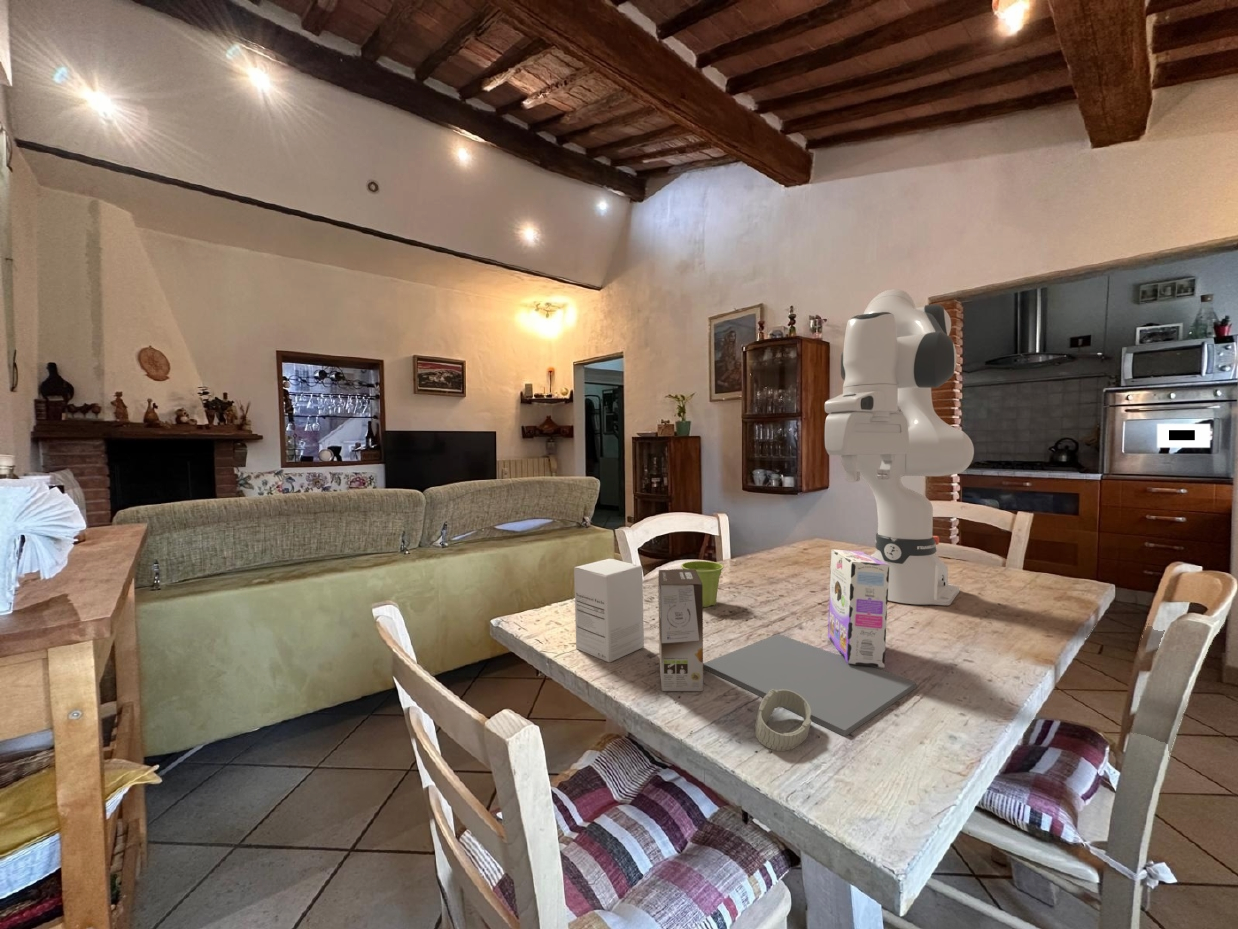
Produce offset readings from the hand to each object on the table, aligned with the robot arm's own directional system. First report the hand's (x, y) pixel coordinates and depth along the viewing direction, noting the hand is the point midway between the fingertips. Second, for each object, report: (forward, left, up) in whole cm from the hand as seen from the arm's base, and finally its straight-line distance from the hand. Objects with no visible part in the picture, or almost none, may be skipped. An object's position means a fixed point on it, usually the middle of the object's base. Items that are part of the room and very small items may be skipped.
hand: (868, 480), depth 91 cm
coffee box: (+37, -11, -30) cm, 48 cm away
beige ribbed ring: (+37, +8, -30) cm, 48 cm away
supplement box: (+39, -27, -30) cm, 56 cm away
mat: (+22, +1, -29) cm, 37 cm away
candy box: (+8, +2, -29) cm, 30 cm away
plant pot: (+8, -34, -30) cm, 45 cm away
